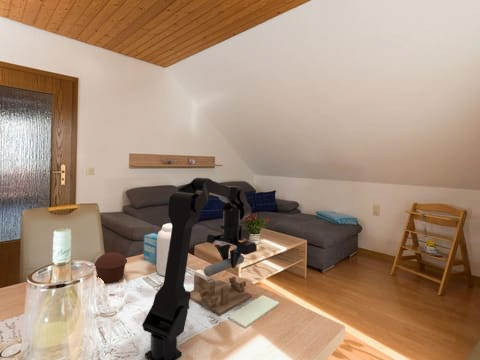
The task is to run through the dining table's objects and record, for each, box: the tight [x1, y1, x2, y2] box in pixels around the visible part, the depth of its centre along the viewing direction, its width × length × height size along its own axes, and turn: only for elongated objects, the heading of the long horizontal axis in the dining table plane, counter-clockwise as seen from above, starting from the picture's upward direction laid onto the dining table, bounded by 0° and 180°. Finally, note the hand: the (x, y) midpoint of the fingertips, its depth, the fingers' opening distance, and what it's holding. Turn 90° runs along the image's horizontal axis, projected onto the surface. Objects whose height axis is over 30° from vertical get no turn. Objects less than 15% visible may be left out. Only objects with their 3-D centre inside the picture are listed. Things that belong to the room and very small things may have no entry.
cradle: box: [189, 274, 253, 317], centre depth 93 cm, size 17×16×6 cm
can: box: [156, 222, 188, 277], centre depth 113 cm, size 12×12×20 cm
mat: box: [227, 294, 280, 329], centre depth 86 cm, size 7×18×1 cm, turn 139°
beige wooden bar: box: [194, 269, 213, 280], centre depth 94 cm, size 7×2×3 cm, turn 49°
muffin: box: [94, 251, 128, 285], centre depth 104 cm, size 12×11×10 cm
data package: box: [143, 232, 158, 265], centre depth 123 cm, size 12×4×12 cm, turn 58°
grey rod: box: [203, 254, 245, 277], centre depth 91 cm, size 3×18×3 cm, turn 139°
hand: (230, 266), depth 93 cm, fingers closed on grey rod, 3 cm apart
